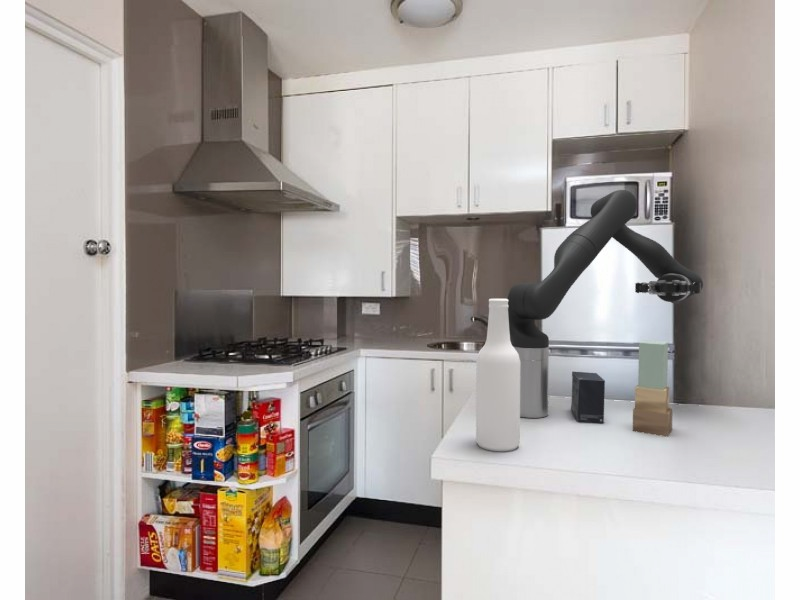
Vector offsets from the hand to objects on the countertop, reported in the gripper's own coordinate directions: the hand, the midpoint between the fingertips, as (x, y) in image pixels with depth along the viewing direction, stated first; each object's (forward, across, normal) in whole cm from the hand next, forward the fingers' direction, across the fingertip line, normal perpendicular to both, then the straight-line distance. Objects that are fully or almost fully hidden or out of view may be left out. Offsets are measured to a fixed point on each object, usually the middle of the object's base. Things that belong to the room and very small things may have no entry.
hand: (663, 288), depth 117 cm
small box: (+9, -15, +32) cm, 37 cm away
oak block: (+11, 0, +27) cm, 29 cm away
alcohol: (+41, -23, +32) cm, 57 cm away
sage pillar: (+11, 0, +22) cm, 25 cm away
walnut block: (+11, 0, +32) cm, 34 cm away
